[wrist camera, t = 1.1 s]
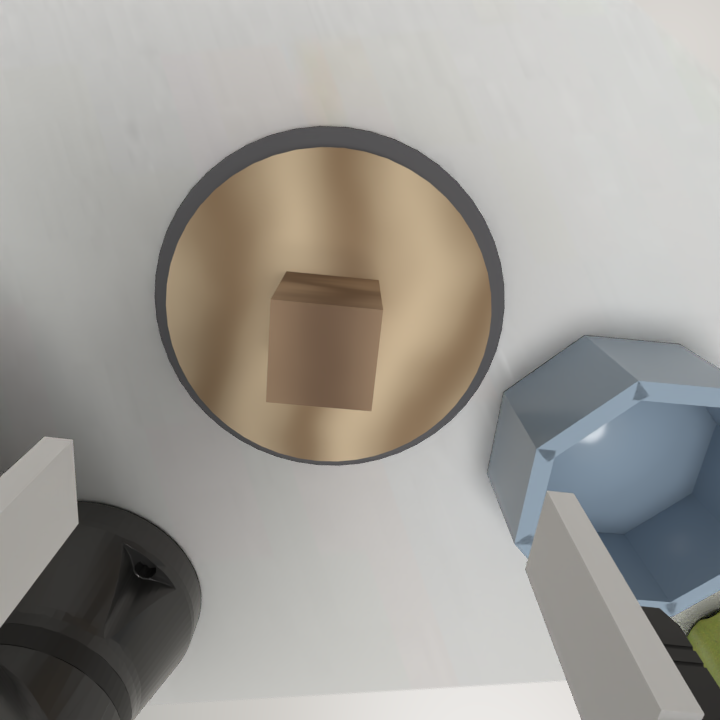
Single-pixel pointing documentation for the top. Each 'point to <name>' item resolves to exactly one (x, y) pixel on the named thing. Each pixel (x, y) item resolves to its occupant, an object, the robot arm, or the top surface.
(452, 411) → the mat
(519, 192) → the top surface
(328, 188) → the lid
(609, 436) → the bowl
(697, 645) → the plant pot
